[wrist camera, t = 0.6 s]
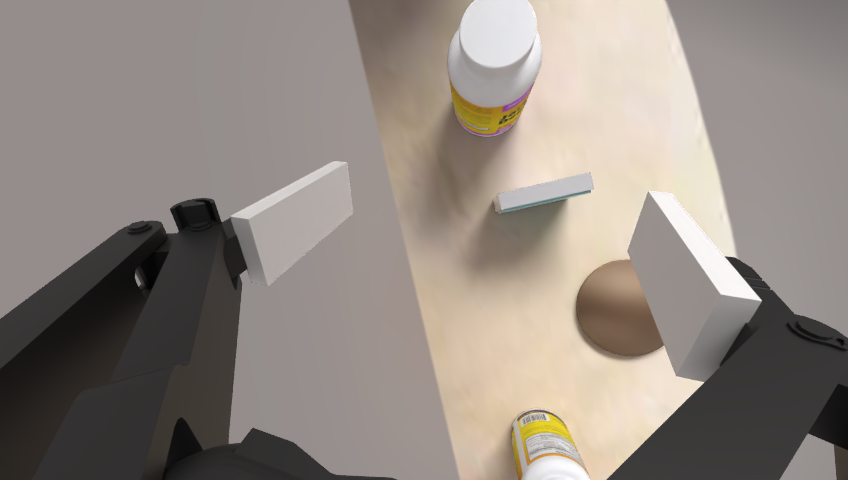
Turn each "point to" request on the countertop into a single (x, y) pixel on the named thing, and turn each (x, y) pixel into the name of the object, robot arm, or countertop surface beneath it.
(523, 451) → the supplement bottle
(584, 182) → the tile
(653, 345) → the coaster
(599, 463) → the countertop surface
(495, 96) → the supplement bottle
